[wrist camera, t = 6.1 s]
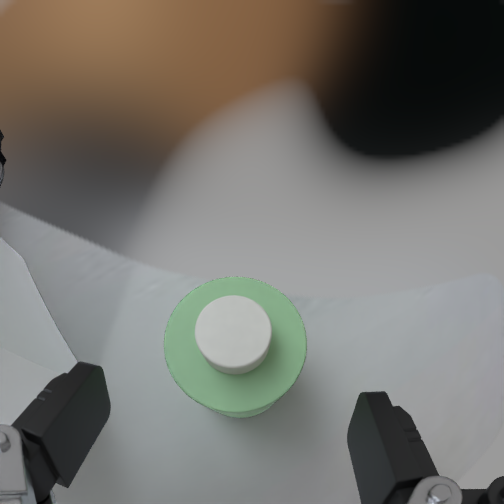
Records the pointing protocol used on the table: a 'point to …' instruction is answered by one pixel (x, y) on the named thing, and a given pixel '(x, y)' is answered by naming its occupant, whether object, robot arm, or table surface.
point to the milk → (25, 339)
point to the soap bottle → (235, 345)
